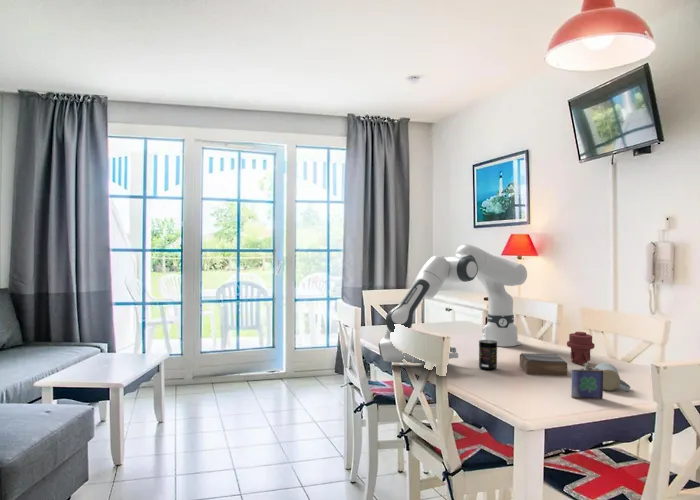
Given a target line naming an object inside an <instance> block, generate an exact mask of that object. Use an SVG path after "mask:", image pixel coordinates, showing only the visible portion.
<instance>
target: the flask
mask: <svg viewBox="0 0 700 500" xmlns="http://www.w3.org/2000/svg"><path fill="white" fill-rule="evenodd" d="M570 395H571V398H572V399H576V400H577V399H578V400H580V399H582V400H599V401H600V400H603V395H604V389H603V370H601V369H598V368H596V369H594V368H593V367H591V366H589V362H588V363H585V364H584V365H583V368H582V367H581V368H577V367H575V368H572V369H571V394H570Z"/></svg>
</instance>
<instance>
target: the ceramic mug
mask: <svg viewBox="0 0 700 500" xmlns="http://www.w3.org/2000/svg"><path fill="white" fill-rule="evenodd" d="M596 368H598V369H601V370H603V391H608V392H611V391H615V390H617V389H620V390H623V391H625V392H629V391H630V389H631V385H630V384H628V383H627V382H625V381H624V380H622V379H621V376H620V374H619V372H618V370H617V368H616V367H615V366H614V365H612V364H611V363H608V362H601V363H598V364H596V366H594V367H593V369H596Z"/></svg>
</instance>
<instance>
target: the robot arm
mask: <svg viewBox="0 0 700 500" xmlns="http://www.w3.org/2000/svg"><path fill="white" fill-rule="evenodd" d="M476 277H477V279H478V280H479V282H481V284H482V285H483V286H484V289H485V291H486V294H487V300H488V313H487V320H486V321H487V323H486V325H484V327H483V328H482V329H481V333H482V336H481V338H480V340H494V341H497V347H515V346H520V345H522V342H521V341H519V340H518V327H517V325H516V324H515V315H514V299H513V296H512V295H511V294H509V292H507V290H506V288H505V286H507V287H513V286H522V285H523V284H525V282H526V280H527V277H528V271H527V268H526V266H525V265H523V264H521V263H517V262H513V261H511V260H508V259H506V258H502V257H500V256H496V255H493V254H491V253H489V252H487V251H485V250H483V249H482V248H480V247H477V246H475V245H472V244H461V245H459V246H458V247H457V248H456V251H455V252H454V256H451V255H449V256H441V255H433V256H431V257H430V258H429V259H428V260H427V261H426V262H424V264H423V266H422V267H421V269H420V270H419V272H418V273H417V275H416V277H415V279H414V281H413V283H412V285H411V287H410V288H409V290H408V291H407V293H406V294H405V296H404V297H403V299H402V300H401V301H400V302H399V303H398V305H395V307H393V308H392V309H391V310H389V311H388V313H387V314H386V317H385V325H386V328H387V329H386V332H385V334H384V335H383V337H382V338H381V339H380V340H379V342H378V350H379V356H380V359H381V360H382V361H384V362H387V363H399V364H401V363H404V362H403V361H402V360H403V359H405V360H406V361H407V362H406V363H410V364H426V361H425V362H424V361H422V360H419V359H417V358H415V357H413V356H411V355H409V354H407V353H403V354H402V352H401V351H399V350H398V349H396V348H395V347H394V346H393V344H392V342H391V341H390V333H391V332H394V329H395V326H394V324H401V325H404V326H405V327H408V328H412V329H413V319H414V318H413V317H414V314H415V312H416V310H417V308H418V307H419V305H420V304H421V303H422V301H423V299H425V300H427V299H433V298H434V297H435V296H436V295H437V294H438V293H439V291H441V288H442V286H443V285H444V283H445V281H447V282H453V283H454V282H455V283H457V282H464V283H465V282H470V281H473V280H474V279H475V278H476ZM449 347H450V352H448V353H449V359H448V360H450V359H458V358H459V353H458V352H457V347H455V346H453V347H452V346H449ZM404 356H405V357H404Z"/></svg>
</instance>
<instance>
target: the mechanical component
mask: <svg viewBox="0 0 700 500" xmlns="http://www.w3.org/2000/svg"><path fill="white" fill-rule="evenodd" d="M568 335H569V338H568V339H569V340H568V341H566V347H568V348H569V349H570V359H571V363H574V364H577V365H580V366H585V363H588V364H589V361H590V360H591V350H593V349H595V347H596V346H595V343H593V335H591V334H587V332H584V331H575V332H573V333H569V334H568Z"/></svg>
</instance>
